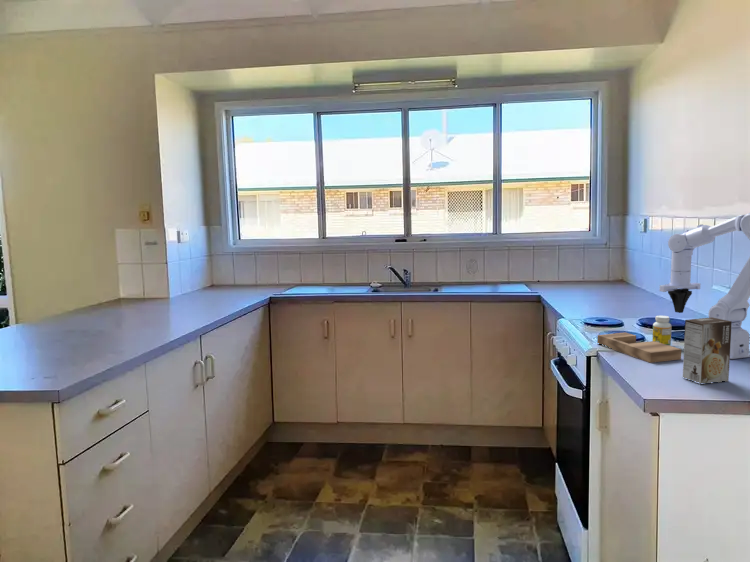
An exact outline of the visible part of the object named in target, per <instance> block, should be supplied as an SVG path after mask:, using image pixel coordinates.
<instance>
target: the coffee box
mask: <svg viewBox="0 0 750 562" xmlns="http://www.w3.org/2000/svg"><path fill="white" fill-rule="evenodd" d="M731 324H732V321H727V320H722V319H717V318H713V317H711V318H709V317H702V318H700V317H699V318H691V319H690V318H689V319H685V320H684V343H683V344H684V345H683V363H682V365H683V366H682V378H683V377H684V378H687V379H690V380H693V381H696V382H699V383H711V382H718V383H723V382H722V381H725V382H729V381H730V380H729V379H730V378H729V375H730V360H731V359H730V343H731ZM711 384H712V383H711Z"/></svg>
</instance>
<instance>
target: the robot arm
mask: <svg viewBox="0 0 750 562" xmlns="http://www.w3.org/2000/svg"><path fill="white" fill-rule="evenodd" d="M736 231H738V232H743V234H744V235H745V237H747V239H748V240H749V241H750V212H749V213H746V214H740V215H736V216H734V217H731V218H729V219H727V220H725V221H722V222H720V223H718V224H715V225H712V226H711V225H707V224H698V225H696V227H695V228H692V229H686V230H683V233H674V234H673V235H671V236H670V237H668V238H669V239H668V241H667V245H668V248H669V249H670V250H671V264H670V282H669V283H668V284H667V283H666V284H661V285H659V292H663V293H665V292H667V293H668V295H669V297H670V299H671V301H672V304H673V309H674V312H675V313H678V314H682V313H684V310H685V307H686V305H687V303H688V300H689V299H690V297H691V296H692V294H693V291H692V290H700V289H701V283H699V282H691V275H692V256H693V253H694V250H695V249H697V248H700V247H702V246H705V245H708V244H710V243H713V242H714V241H715V239H716V237H718V236H723V235H726V234H728V233H732V232H736ZM742 267H743V268H742V269H741V271H740V272H739V274H738V276H737V277H736V279H735V280H734V282H733V283H732V285H731V287H730V289H729V291H728V292H727V294H725V295H724V296H722V297H721V298H719V300H718V301H717V303H715V304H714V305H712V306H711V307H710V308H709V310H708V318H711V317H713V318H717V319H722V320H727V321H732V324H731V343H730V360H735V359H742V358H743V359H744V358H750V354H749V353H750V333H749V331H747V329H744V328H743V327H742V323H743V322H744V321H745V320H746V318H747V317H748V309H749V308H750V303H749V302H748V300H749V299H750V256H749V257H748V259H747V260H746V262H745V265H744V266H742Z"/></svg>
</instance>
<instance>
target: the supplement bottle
mask: <svg viewBox="0 0 750 562" xmlns="http://www.w3.org/2000/svg"><path fill="white" fill-rule="evenodd" d="M651 340H652V341H656V342H659V343H662V344H665V345H669V346H672V343H671V342H672V324H671V323H670V317H669V316H668V315H656V316H655V322H653V324H652V339H651Z"/></svg>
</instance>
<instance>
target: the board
mask: <svg viewBox="0 0 750 562" xmlns="http://www.w3.org/2000/svg"><path fill="white" fill-rule="evenodd" d="M596 340H597V343H599V344H603V345H606V346H608V347H610V348H612V349H611V350H613V351H616V352H619V353H621V354H625V355H627V356H630V357H634V358H636V359H638V360H641V361H644V362H647V363H650V364H652V363H661V362H669V361H675V360H676V361H677V360H679V361H680V360H682V348H678V347H675V346H672V345H671V346H669V345H665V344H662V343H659V342H656V341H641V342H637V335H636V334H632V333H628V332H626V331H625V332H615V333H607V334H606V333H605V334H598V335H597V339H596ZM599 344H598V345H599ZM610 348H609V349H610Z"/></svg>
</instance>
